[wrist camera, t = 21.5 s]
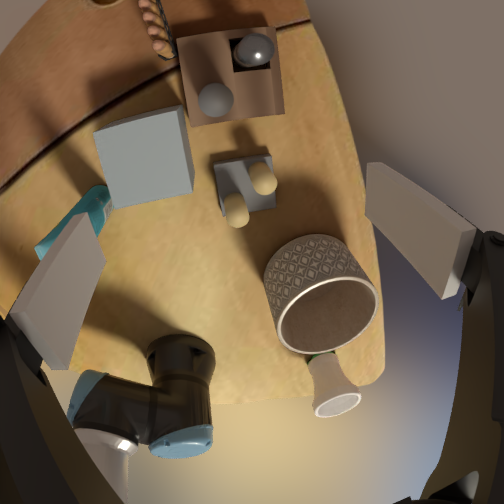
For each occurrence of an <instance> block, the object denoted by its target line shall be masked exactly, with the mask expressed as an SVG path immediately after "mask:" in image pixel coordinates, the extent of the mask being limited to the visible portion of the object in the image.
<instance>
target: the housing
mask: <svg viewBox="0 0 504 504" xmlns="http://www.w3.org/2000/svg"><path fill="white" fill-rule="evenodd" d="M93 135H94V139H95V143H96V147H97V151H98V155H99V158H100V162H101V165H102V169H103V172H104V176H105V179H106V183H107V186H108V189H109V192H110V196H111V199H112V202H113V205H114V208H115V209H119V208H124V207H128V206H132V205H137V204H141V203H146V202H151V201H155V200H160V199H165V198H170V197H175V196H180V195H185V194H190V193H193V185H194V176H195V170H194V165H193V160H192V155H191V149H190V144H189V139H188V133H187V128H186V122H185V117H184V111H183V105H182V104H181V105H176V106H172V107H167V108H163V109H158V110H154V111H150V112H146V113H142V114H138V115H134V116H131V117H127V118H124V119H120V120H117V121H113V122H111V123H109V124H107V125H106V126H104V127H102V128H100V129H99V130H97V131H95V132H93Z"/></svg>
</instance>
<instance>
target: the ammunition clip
mask: <svg viewBox="0 0 504 504" xmlns="http://www.w3.org/2000/svg"><path fill="white" fill-rule="evenodd" d="M138 4H139V7H140V8H141V10H142V13H143V20H144V21H145V23H146V25H147V26H148V29H147V32H148V34H149V35H150V38H151V39H152V40H153V43H152V47H153V49H154V50H155V52H156V53H158V56H159V57H160V58H162V59H163V60H165V61H167V60H170V59H172V58H175V57H178V53H177V50H176V47H175V44H174V41H173V38H172V35H171V32H170V29H169V26H168V23H167V20H166V17H165V14H164V11H163V8H162V5H161V2H160V0H138Z"/></svg>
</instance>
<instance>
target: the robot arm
mask: <svg viewBox="0 0 504 504" xmlns="http://www.w3.org/2000/svg"><path fill="white" fill-rule="evenodd" d="M365 216H366V217H367V218H368V219H369V220H370V221H371V222H372V223H373V224H374V225H375V226H376V227H377V228H378V229H379V230H380V231H381V232H382V233H383V234H384V235H385V236H386V237H387V238H388V239H389V240H390V241H391V243H392V244H394V246H395V247H396V248H397V249H398V250H399V251H400V252H401V253H402V254H403V255H404V257H405V258H406V259H407V260H408V261H409V262H410V263H411V264H412V265H413V267H414V268H415V269H416V270H417V271H418V272H419V273H420V275H421V276H422V277H423V278H424V279H425V280H426V282H427V283H428V284H429V285H430V286H431V287H432V289H433V290H434V291H435V292H436V293H437V295H438V296H439V297H440V298H441V299H445V298H447V297H450V296H453V295H455V294H456V293H457V290H458V287H459V285H460V282H461V281H462V282H463V283H464V284H465V285H466V289H465V292H464V294H463V297H462V300H461V302H460V305H459V307H458V311H460V309H461V307H463V326H462V342H461V352H460V362H459V370H458V377H457V384H456V390H455V397H454V402H453V407H452V412H451V417H450V422H449V426H448V431H447V434H446V438H445V442H444V446H443V450H442V453H441V457H440V460H439V462H438V464H437V467H436V468H435V470H434V471H433V473H432V474H431V475H430V477H429V479H428V481H427V483H426V485H425V487H424V489H423V492H422V495H421V497H420V499H419V500H411V498H410V497H407V498H405V499H403V500H401V501H398V502H396V503H394V504H504V235H503V234H501V233H498V232H495V231H486V232H485V233H483V232H482V231H481V230H479V229H478V228H477V227H476V226H474V225H473V224H472V223H470V222H469V221H468V220H467V219H465V218H463V216H462V215H460V214H459V213H457V212H456V211H455V210H453V209H452V208H451V207H449V206H448V205H445V204H444V203H443V202H441V201H440V200H438V199H437V198H435V197H434V196H433V195H431V194H430V193H428V192H427V191H425V190H424V189H422V188H421V187H419V186H418V185H416V184H415V183H413V182H412V181H410V180H409V179H407V178H406V177H404V176H403V175H401V174H399V173H398V172H396V171H395V170H393V169H391V168H390V167H388V166H386V165H385V164H383V163H381V162H375V163H367V182H366V203H365ZM105 263H106V259H105V257H104V254H103V252H102V249H101V247H100V244H99V242H98V239H97V237H96V234H95V232H94V229H93V227H92V224H91V221H90V218H89V216H88V213H87V212H85V213H81V214H77V215H74V216H73V217H72V218H71V220H70V221H69V222H68V224H67V225H66V226H65V228H64V229H63V230H62V232H61V233H60V234H59V236H58V237H57V238H56V240H55V241H54V243H53V244H52V245H51V247H50V248H49V250H48V251H47V253H46V254H45V255H44V257H43V258H42V260H41V261H40V263H39V264H38V266H37V267H36V269H35V271H34V272H33V274H32V275H31V277H30V278H29V280H28V281H27V282H26V283H25V285H24V287H23V288H22V290H21V293H19V295H18V297H17V300H15V302H14V304H13V305H12V307H11V309H10V311H9V313H8V314H7V316H6V318H5V320H3V318H2V317H1V315H0V504H128V503H127V502H128V495H127V494H128V462H129V456H131V455H132V454H134V453H135V452H136V451H138V443H141V444H146V445H149V447H148V448H149V450H150V452H151V453H152V454H153V455H155V456H158V457H162V458H187V457H192V456H197V455H200V454H202V453H204V452H206V451H207V450H209V449H210V447H211V446H212V443H213V435H212V433H213V431H212V430H213V426H212V417H211V407H210V394H209V385H210V382H211V379H212V375H213V372H214V369H215V365H216V361H215V353H214V350H213V349H212V347H211V346H210V345H209V344H207V343H206V342H204V341H203V340H201V339H198V338H196V337H192V336H187V335H169V336H164V337H161V338H159V339H157V340H155V341H154V342H153V343H151V345H150V346H149V348H148V350H147V366H148V369H149V373H150V376H151V380H152V383H153V384H152V386H149V385H145V384H141V383H137V382H134V381H130V380H127V379H123V378H120V377H116V376H113V375H110V374H109V373H102V372H98V371H95V370H86V371H84V372H83V373H82V374H81V375H80V377H79V379H78V381H77V383H76V385H75V388H74V391H73V394H72V397H71V400H70V404H69V408H68V412H67V417H66V415H65V413H64V411H63V409H62V407H61V405H60V403H59V401H58V399H57V397H56V395H55V393H54V391H53V389H52V387H51V385H50V383H49V380H48V378H47V376H46V374H45V372H44V371H43V370H42V369H41V368H40V366H41V364H42V360H44V361H45V362H46V364H47V365H48V366H49V367H50V368H51V370H68V368H69V364H70V361H71V357H72V354H73V351H74V347H75V344H76V341H77V338H78V335H79V332H80V329H81V326H82V323H83V320H84V317H85V314H86V312H87V309H88V306H89V303H90V301H91V298H92V295H93V293H94V290H95V288H96V285H97V283H98V280H99V278H100V275H101V273H102V270H103V268H104V265H105ZM72 427H73V428H72Z"/></svg>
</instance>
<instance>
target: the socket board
mask: <svg viewBox="0 0 504 504" xmlns="http://www.w3.org/2000/svg"><path fill="white" fill-rule="evenodd" d="M252 33H261V34H264V35H266V36H268V37H269V38H270V39H271V40H272V42H273V43H274V47H275V52H274V55H273V57H272V58H271V60H270V61H268V62H267V63H266V69H264V70H253V71H244V72H236V73H234V72H233V65H232V58H231V50H230V43H229V41H237V40H242V39H243V38H244V37H245V36H247V35H249V34H252ZM176 40H177V46H178V53H179V60H180V66H181V72H182V79H183V85H184V91H185V97H186V103H187V108H188V114H189V120H190V126H191V127H196V126H202V125H207V124H213V123H219V122H225V121H232V120H239V119H246V118H253V117H262V116H270V115H280V114H285V110H284V100H283V90H282V80H281V71H280V62H279V53H278V45H277V37H276V29H275V26H274V27H257V28H245V29H235V30H226V31H218V32H211V33H205V34H198V35H193V36H187V37H182V38H177V39H176Z"/></svg>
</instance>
